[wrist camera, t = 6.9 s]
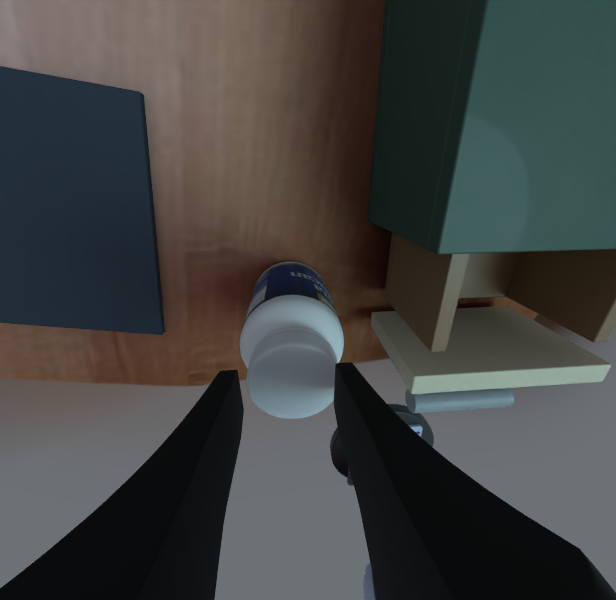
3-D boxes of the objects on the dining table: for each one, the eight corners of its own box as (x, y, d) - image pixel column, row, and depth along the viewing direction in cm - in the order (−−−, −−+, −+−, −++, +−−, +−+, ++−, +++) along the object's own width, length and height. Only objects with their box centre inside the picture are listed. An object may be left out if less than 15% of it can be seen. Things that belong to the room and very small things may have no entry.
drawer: (487, 365, 23) (569, 439, 16) (365, 372, 22) (399, 453, 16) (564, 137, 16) (761, 107, 9) (389, 137, 15) (468, 105, 9)
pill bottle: (339, 279, 20) (384, 361, 11) (304, 335, 21) (318, 444, 13) (274, 245, 18) (263, 307, 9) (242, 308, 20) (208, 409, 11)
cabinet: (533, 217, 19) (727, 246, 11) (367, 221, 18) (437, 255, 10) (626, -65, 13) (1193, -472, 5) (391, -77, 12) (601, -588, 4)
